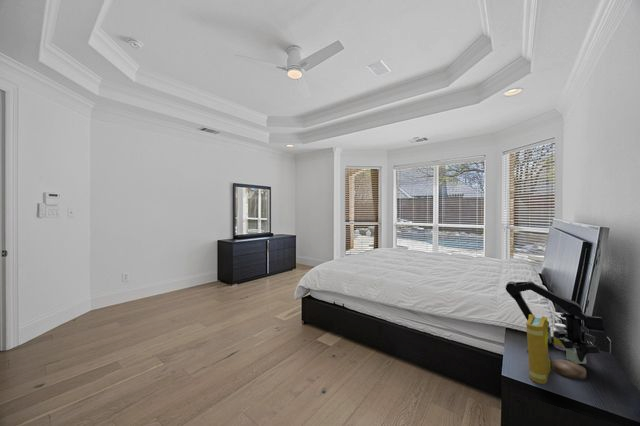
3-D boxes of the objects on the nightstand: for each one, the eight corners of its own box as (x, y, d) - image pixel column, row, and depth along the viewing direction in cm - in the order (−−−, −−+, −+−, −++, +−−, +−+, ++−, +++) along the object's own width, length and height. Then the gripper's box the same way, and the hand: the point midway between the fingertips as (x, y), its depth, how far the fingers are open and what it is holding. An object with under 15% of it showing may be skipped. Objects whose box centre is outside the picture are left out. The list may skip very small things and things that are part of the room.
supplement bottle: (566, 346, 147) (564, 323, 147) (573, 351, 140) (571, 327, 141) (551, 344, 149) (549, 322, 149) (557, 350, 143) (556, 326, 143)
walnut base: (567, 379, 117) (566, 373, 118) (545, 364, 129) (544, 359, 130) (594, 378, 117) (594, 373, 117) (570, 364, 129) (569, 359, 129)
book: (532, 364, 130) (529, 314, 131) (550, 369, 125) (547, 317, 126) (527, 379, 118) (524, 324, 119) (547, 385, 113) (543, 328, 114)
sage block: (575, 363, 127) (575, 353, 128) (566, 358, 132) (565, 348, 133) (586, 363, 127) (585, 353, 127) (576, 358, 132) (576, 348, 132)
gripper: (610, 335, 121) (613, 369, 120) (573, 319, 139) (575, 349, 139) (585, 335, 121) (588, 369, 121) (551, 320, 140) (553, 349, 139)
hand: (576, 358), depth 130 cm, fingers closed on sage block, 5 cm apart
